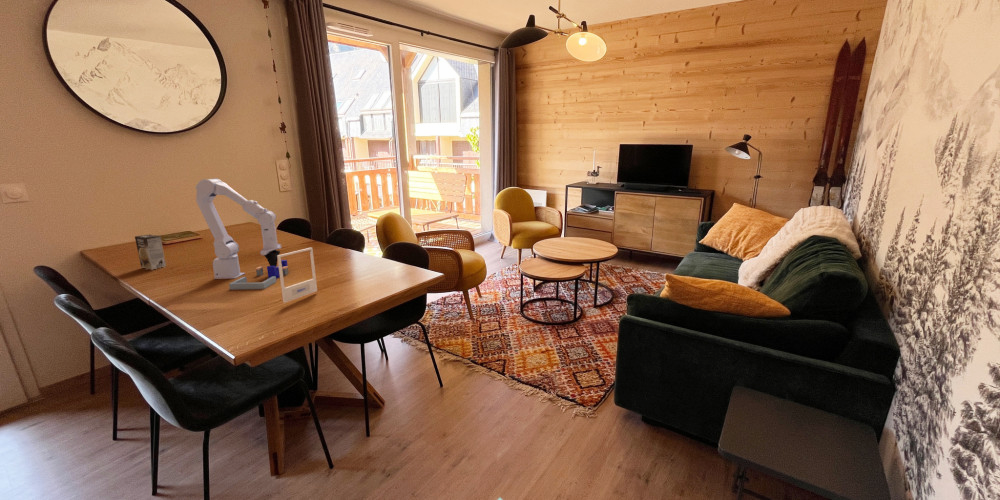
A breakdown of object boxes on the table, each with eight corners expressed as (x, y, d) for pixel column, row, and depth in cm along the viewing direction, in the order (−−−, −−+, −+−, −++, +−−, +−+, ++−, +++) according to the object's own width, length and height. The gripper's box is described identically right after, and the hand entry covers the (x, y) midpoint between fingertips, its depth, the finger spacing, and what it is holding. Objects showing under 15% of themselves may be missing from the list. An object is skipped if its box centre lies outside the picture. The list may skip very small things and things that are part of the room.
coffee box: (140, 268, 196) (133, 236, 192) (155, 265, 202) (149, 234, 198) (152, 270, 193) (145, 237, 189) (167, 267, 198) (160, 235, 195)
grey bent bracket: (229, 289, 164) (228, 283, 163) (243, 282, 174) (243, 276, 173) (264, 288, 164) (263, 283, 164) (276, 281, 174) (275, 276, 174)
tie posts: (256, 276, 183) (255, 268, 182) (260, 274, 186) (259, 266, 185) (285, 275, 183) (284, 267, 183) (288, 273, 186) (288, 266, 186)
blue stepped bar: (278, 272, 189) (277, 260, 188) (288, 272, 189) (286, 260, 188) (265, 279, 177) (263, 266, 176) (275, 279, 178) (273, 266, 176)
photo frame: (285, 302, 148) (279, 255, 144) (283, 302, 149) (277, 255, 145) (317, 291, 161) (312, 247, 157) (315, 290, 162) (310, 247, 158)
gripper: (270, 241, 175) (274, 270, 178) (286, 234, 189) (289, 262, 193) (254, 241, 175) (258, 271, 178) (271, 235, 189) (274, 262, 192)
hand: (273, 266), depth 185 cm, fingers closed
